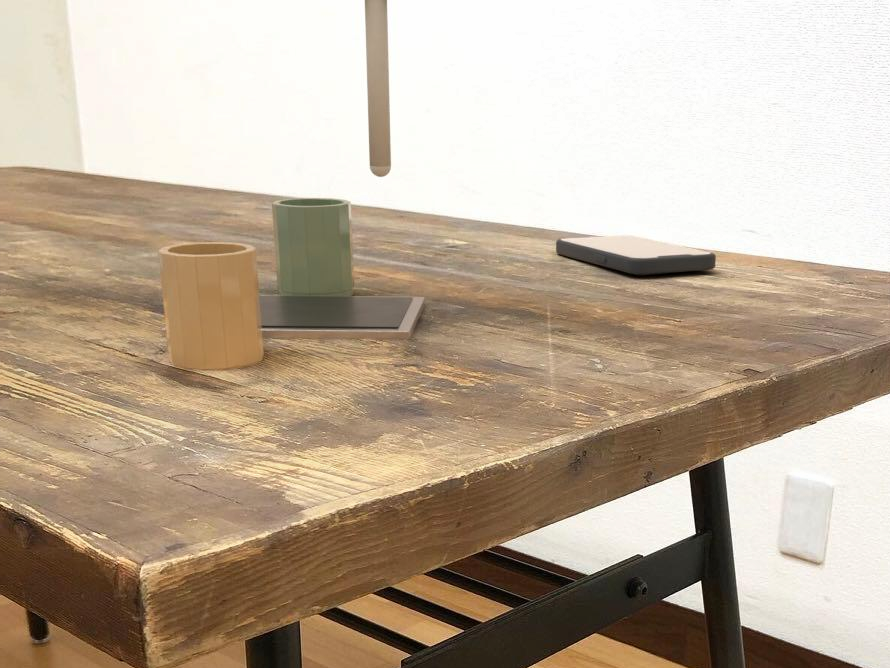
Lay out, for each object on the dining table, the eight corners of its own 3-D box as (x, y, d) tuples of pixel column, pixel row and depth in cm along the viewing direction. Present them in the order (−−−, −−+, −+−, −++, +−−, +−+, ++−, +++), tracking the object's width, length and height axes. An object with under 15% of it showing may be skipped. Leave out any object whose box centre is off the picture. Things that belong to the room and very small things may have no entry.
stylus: (368, 177, 81) (361, -58, 76) (371, 175, 83) (364, -56, 77) (390, 178, 81) (384, -58, 76) (392, 176, 83) (386, -56, 77)
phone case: (550, 255, 118) (633, 278, 104) (550, 238, 117) (634, 259, 104) (631, 251, 121) (721, 272, 108) (631, 234, 121) (722, 253, 107)
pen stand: (159, 377, 72) (146, 255, 69) (184, 355, 77) (173, 241, 74) (252, 378, 72) (243, 256, 69) (271, 356, 77) (263, 242, 74)
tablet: (162, 343, 80) (160, 327, 79) (208, 308, 91) (206, 293, 91) (409, 346, 80) (409, 329, 80) (425, 310, 91) (424, 295, 91)
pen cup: (272, 300, 94) (265, 206, 91) (286, 287, 99) (280, 197, 97) (348, 301, 94) (343, 207, 91) (358, 287, 99) (354, 198, 97)
